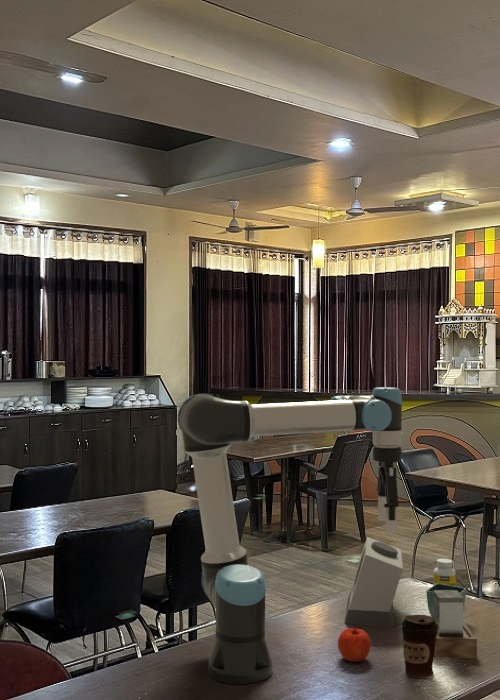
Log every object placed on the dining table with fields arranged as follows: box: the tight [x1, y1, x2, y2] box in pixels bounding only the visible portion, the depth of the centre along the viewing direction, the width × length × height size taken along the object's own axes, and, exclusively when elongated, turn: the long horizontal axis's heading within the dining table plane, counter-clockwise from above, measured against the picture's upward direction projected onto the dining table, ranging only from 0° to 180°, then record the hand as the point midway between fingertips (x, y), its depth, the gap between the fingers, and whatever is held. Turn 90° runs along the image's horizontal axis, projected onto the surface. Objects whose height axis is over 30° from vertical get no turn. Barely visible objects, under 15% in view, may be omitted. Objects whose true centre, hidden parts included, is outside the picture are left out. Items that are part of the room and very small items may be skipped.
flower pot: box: [426, 583, 467, 618], centre depth 218 cm, size 9×9×9 cm
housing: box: [434, 590, 464, 637], centre depth 198 cm, size 6×6×10 cm
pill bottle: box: [432, 558, 457, 586], centre depth 237 cm, size 6×6×12 cm
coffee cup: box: [401, 614, 438, 679], centre depth 183 cm, size 9×8×13 cm
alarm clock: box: [344, 536, 404, 627], centre depth 225 cm, size 20×16×20 cm
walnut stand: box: [434, 622, 478, 659], centre depth 198 cm, size 11×11×5 cm
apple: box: [337, 626, 372, 663], centre depth 192 cm, size 8×8×8 cm
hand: (387, 526), depth 208 cm, fingers open, 13 cm apart
